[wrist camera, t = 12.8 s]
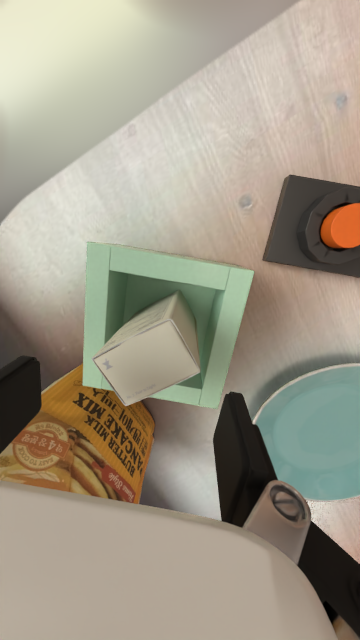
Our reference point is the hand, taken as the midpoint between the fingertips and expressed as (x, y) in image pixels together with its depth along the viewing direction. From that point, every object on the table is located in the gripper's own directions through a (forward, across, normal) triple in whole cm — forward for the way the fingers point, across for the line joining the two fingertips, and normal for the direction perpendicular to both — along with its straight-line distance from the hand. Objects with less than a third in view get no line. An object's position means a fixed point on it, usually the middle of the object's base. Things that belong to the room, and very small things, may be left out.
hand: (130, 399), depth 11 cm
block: (+17, -15, -11) cm, 25 cm away
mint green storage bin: (+17, 0, +1) cm, 17 cm away
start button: (+14, -15, -11) cm, 24 cm away
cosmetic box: (+16, 0, 0) cm, 16 cm away
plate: (+17, -24, +13) cm, 32 cm away
